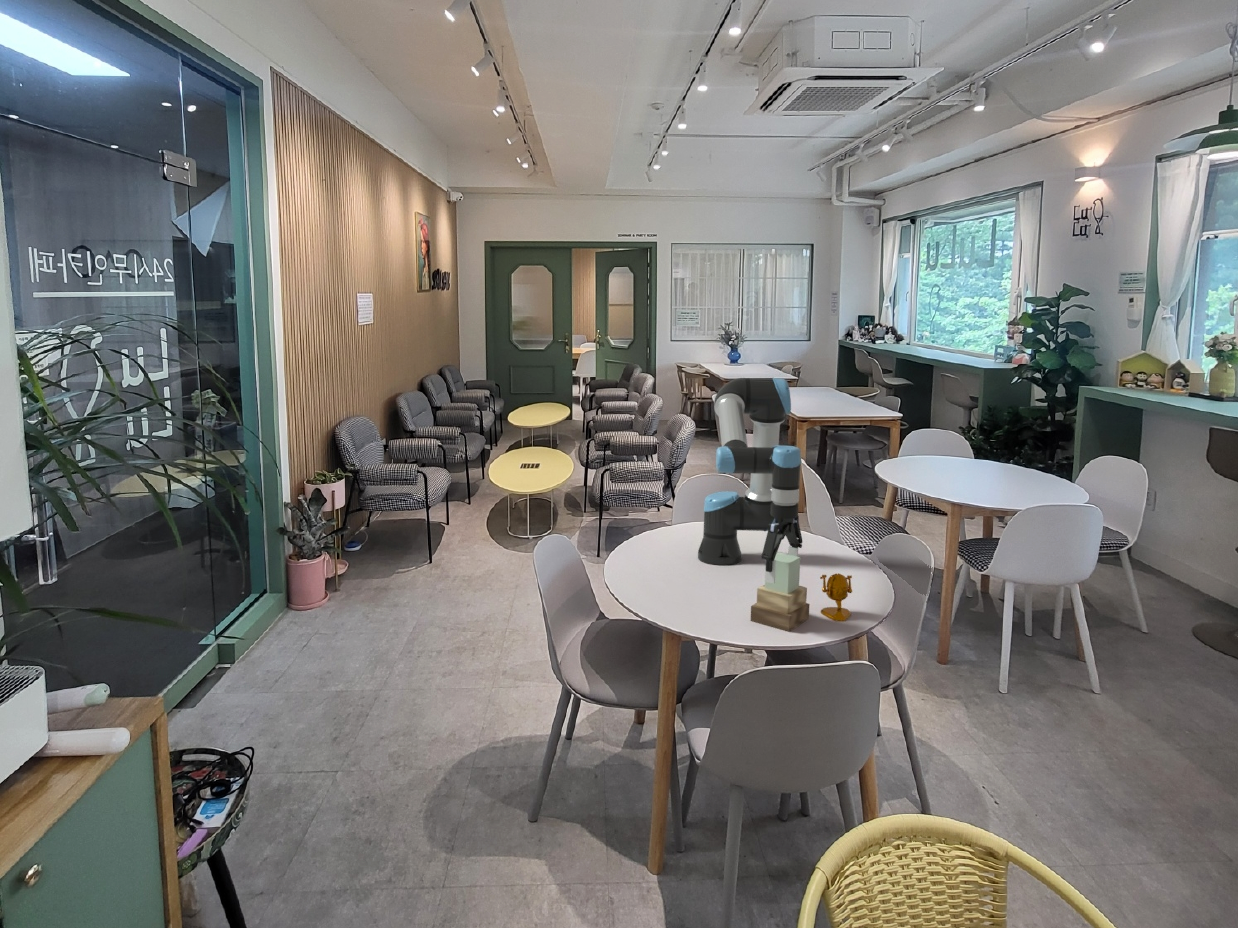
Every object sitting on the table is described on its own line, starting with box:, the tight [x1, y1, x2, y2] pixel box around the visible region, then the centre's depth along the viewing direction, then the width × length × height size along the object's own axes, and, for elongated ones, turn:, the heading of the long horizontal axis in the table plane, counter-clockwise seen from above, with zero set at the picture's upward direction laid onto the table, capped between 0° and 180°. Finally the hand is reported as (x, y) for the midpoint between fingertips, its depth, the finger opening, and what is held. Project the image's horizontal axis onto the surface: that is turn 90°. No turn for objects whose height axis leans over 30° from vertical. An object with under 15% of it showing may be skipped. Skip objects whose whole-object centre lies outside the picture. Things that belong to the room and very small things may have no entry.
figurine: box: [819, 573, 853, 622], centre depth 234 cm, size 8×11×12 cm
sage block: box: [764, 551, 801, 594], centre depth 228 cm, size 7×7×9 cm
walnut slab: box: [750, 602, 810, 633], centre depth 231 cm, size 12×12×5 cm
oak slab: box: [756, 584, 808, 614], centre depth 230 cm, size 10×10×5 cm
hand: (781, 575), depth 229 cm, fingers open, 13 cm apart
